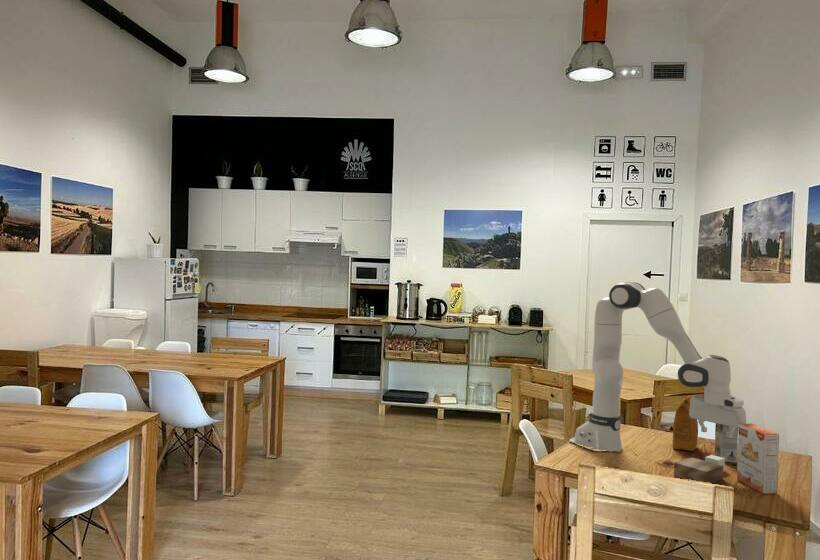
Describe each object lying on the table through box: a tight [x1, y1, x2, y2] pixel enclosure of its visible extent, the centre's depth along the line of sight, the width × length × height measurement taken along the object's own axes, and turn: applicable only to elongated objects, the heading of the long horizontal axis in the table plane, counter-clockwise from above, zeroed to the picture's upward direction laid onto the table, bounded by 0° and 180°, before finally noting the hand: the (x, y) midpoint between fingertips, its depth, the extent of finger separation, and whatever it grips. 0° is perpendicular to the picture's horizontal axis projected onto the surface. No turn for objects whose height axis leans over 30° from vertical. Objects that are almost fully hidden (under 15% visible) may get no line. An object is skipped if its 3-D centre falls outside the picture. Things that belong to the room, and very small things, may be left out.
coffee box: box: [714, 423, 738, 464], centre depth 244 cm, size 9×6×16 cm
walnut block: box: [673, 456, 724, 484], centre depth 219 cm, size 12×12×5 cm
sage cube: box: [704, 454, 726, 473], centre depth 228 cm, size 5×5×5 cm
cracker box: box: [736, 423, 780, 495], centre depth 211 cm, size 14×6×21 cm, turn 5°
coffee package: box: [671, 395, 699, 452], centre depth 257 cm, size 10×12×22 cm
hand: (716, 434), depth 228 cm, fingers open, 8 cm apart
